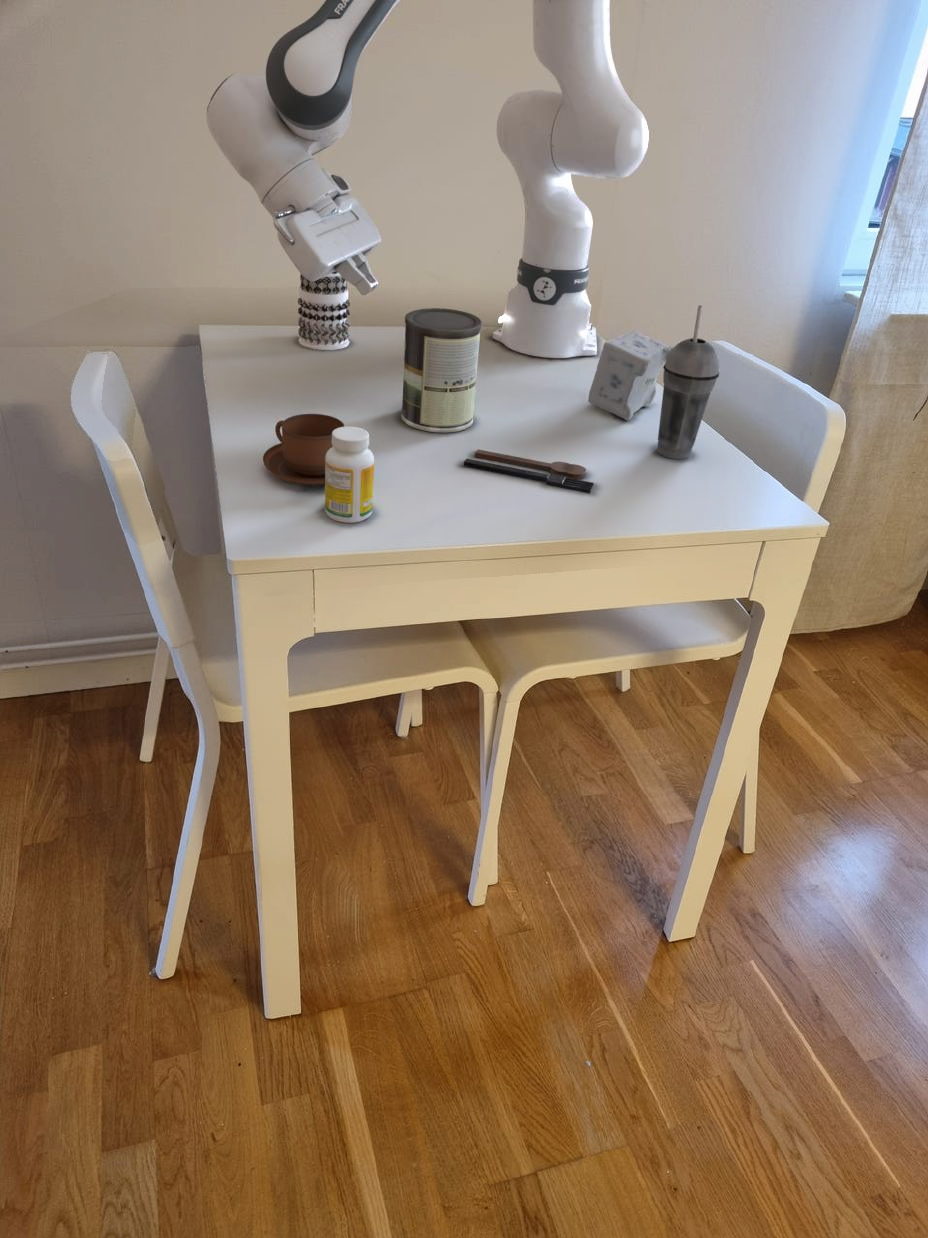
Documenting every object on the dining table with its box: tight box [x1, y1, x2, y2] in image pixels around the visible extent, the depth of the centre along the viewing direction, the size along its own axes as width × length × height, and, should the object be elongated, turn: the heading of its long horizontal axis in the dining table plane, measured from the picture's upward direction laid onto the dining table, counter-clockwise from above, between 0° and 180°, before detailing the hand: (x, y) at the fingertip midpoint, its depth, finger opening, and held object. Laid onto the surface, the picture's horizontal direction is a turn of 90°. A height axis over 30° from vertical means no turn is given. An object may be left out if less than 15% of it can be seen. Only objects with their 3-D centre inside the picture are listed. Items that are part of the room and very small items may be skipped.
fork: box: [463, 458, 594, 494], centre depth 118 cm, size 2×17×1 cm, turn 73°
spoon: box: [474, 448, 588, 480], centre depth 120 cm, size 3×15×1 cm, turn 73°
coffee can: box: [400, 307, 483, 434], centre depth 128 cm, size 10×10×14 cm
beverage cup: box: [656, 305, 720, 460], centre depth 123 cm, size 7×7×20 cm
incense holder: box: [587, 329, 674, 422], centre depth 139 cm, size 10×8×10 cm
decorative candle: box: [297, 192, 351, 351], centre depth 150 cm, size 9×9×25 cm
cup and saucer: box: [262, 413, 345, 486], centre depth 112 cm, size 12×12×6 cm
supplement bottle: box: [324, 426, 375, 524], centre depth 103 cm, size 5×5×10 cm
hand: (371, 290), depth 125 cm, fingers closed
